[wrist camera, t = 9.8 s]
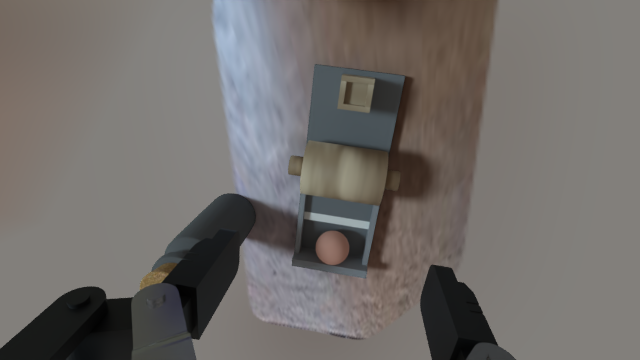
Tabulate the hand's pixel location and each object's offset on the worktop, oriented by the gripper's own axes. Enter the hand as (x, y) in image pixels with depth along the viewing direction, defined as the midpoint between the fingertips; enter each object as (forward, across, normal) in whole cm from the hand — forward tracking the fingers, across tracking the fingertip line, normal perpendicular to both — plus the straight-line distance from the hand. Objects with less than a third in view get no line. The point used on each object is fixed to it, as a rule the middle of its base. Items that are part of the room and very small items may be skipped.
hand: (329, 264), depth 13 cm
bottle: (+23, +13, +12) cm, 29 cm away
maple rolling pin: (+23, 0, +3) cm, 23 cm away
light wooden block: (+23, 0, -5) cm, 24 cm away
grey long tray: (+23, 0, +5) cm, 24 cm away
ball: (+22, 0, +15) cm, 26 cm away
